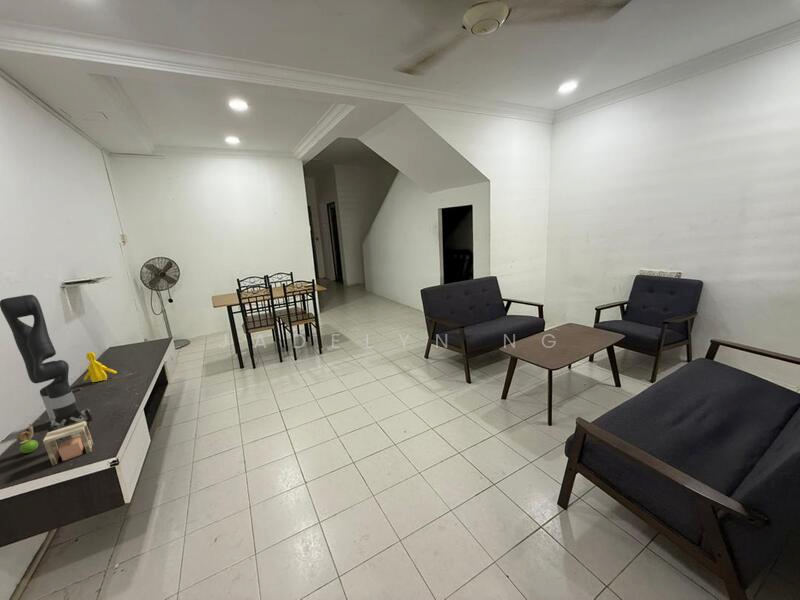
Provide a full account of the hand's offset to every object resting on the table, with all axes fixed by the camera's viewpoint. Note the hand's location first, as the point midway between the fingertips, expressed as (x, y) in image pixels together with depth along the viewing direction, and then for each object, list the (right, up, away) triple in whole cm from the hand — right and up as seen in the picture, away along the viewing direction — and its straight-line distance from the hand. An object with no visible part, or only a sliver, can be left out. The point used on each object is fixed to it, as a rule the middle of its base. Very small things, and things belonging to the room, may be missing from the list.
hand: (75, 434), depth 146 cm
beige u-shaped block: (+7, -5, -7) cm, 11 cm away
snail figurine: (-17, -7, -3) cm, 18 cm away
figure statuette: (-53, +7, +68) cm, 86 cm away
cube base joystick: (+4, -5, -4) cm, 7 cm away
